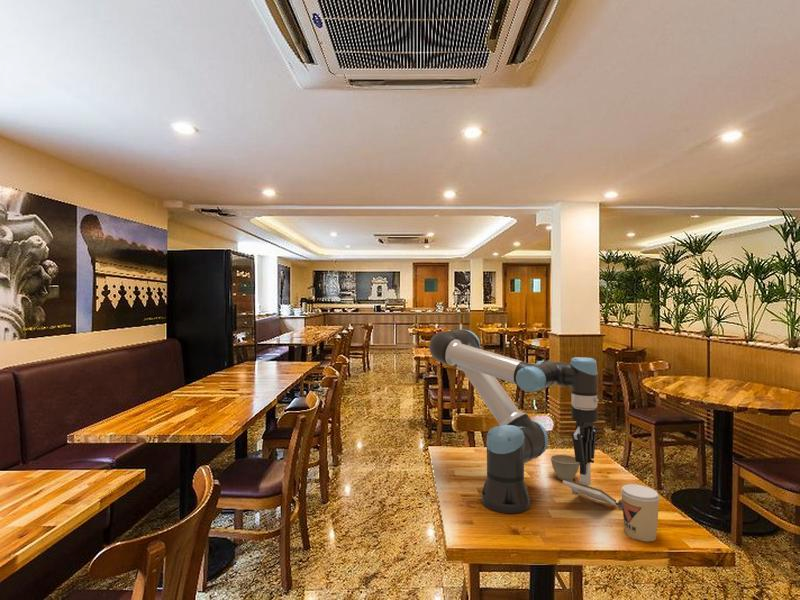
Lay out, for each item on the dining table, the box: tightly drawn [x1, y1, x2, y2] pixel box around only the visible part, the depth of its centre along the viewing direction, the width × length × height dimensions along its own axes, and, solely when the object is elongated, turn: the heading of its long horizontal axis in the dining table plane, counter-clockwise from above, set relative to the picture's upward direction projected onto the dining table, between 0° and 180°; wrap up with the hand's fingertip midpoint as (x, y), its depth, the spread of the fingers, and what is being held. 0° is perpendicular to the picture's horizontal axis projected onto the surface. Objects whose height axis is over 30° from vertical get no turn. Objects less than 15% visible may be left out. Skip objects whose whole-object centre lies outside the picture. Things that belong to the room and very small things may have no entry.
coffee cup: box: [620, 483, 660, 542], centre depth 121 cm, size 9×9×12 cm
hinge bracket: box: [571, 489, 623, 511], centre depth 141 cm, size 2×17×2 cm, turn 41°
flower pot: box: [550, 454, 580, 481], centre depth 159 cm, size 10×10×7 cm
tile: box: [562, 478, 617, 506], centre depth 137 cm, size 12×12×2 cm
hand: (585, 483), depth 135 cm, fingers closed
